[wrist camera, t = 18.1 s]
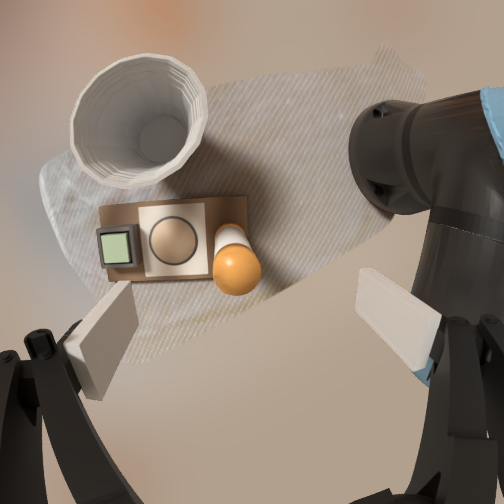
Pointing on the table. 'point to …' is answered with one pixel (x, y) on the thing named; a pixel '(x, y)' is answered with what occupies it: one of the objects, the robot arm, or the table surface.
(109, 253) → the button
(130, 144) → the plastic cup
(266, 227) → the table surface
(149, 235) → the board
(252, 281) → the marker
